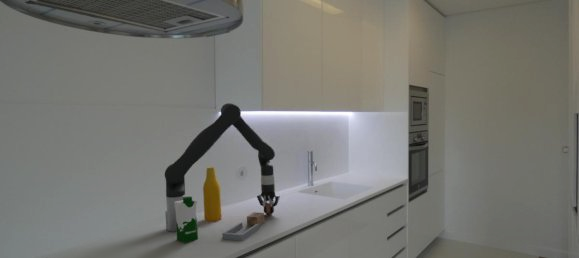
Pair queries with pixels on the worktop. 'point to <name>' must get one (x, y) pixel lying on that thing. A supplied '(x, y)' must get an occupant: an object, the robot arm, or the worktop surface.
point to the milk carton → (186, 219)
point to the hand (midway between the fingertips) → (269, 213)
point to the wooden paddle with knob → (258, 217)
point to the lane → (230, 234)
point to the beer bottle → (211, 197)
